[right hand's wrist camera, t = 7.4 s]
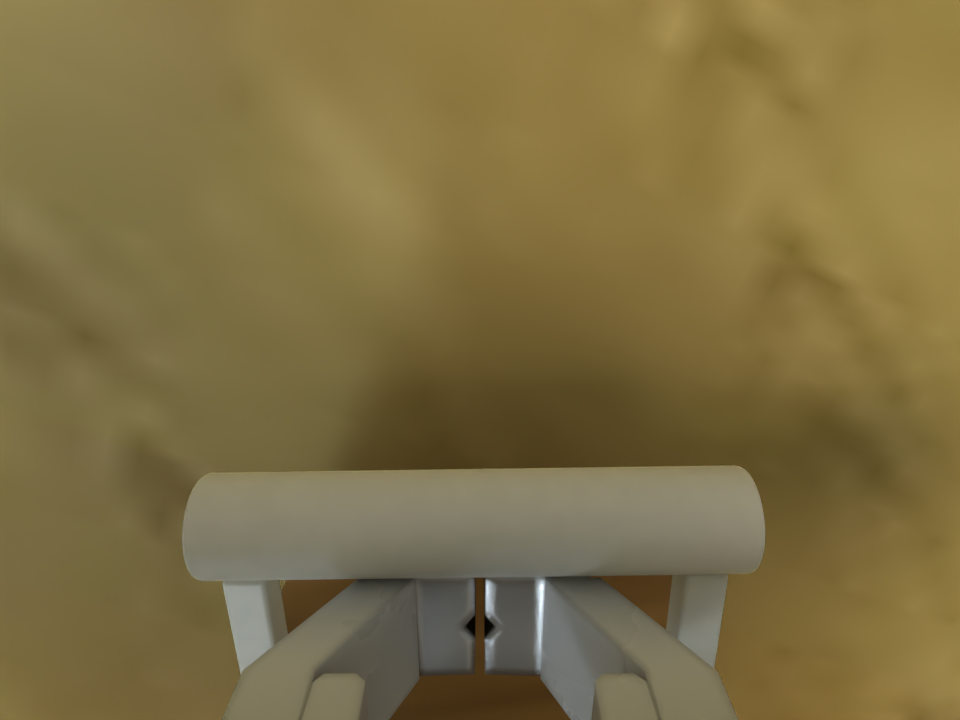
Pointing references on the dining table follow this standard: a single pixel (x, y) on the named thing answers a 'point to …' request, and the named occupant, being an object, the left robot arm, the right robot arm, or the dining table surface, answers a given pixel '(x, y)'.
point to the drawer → (474, 551)
